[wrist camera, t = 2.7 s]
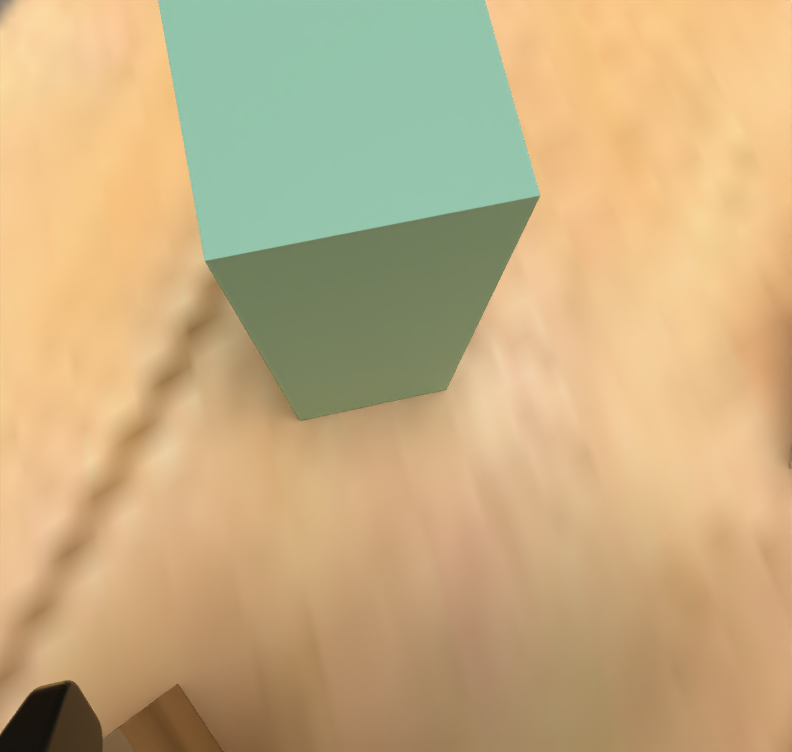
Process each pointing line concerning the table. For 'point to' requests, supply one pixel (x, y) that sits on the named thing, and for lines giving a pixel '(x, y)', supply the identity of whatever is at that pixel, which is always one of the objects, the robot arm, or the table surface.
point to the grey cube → (791, 460)
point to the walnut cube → (163, 728)
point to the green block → (351, 183)
